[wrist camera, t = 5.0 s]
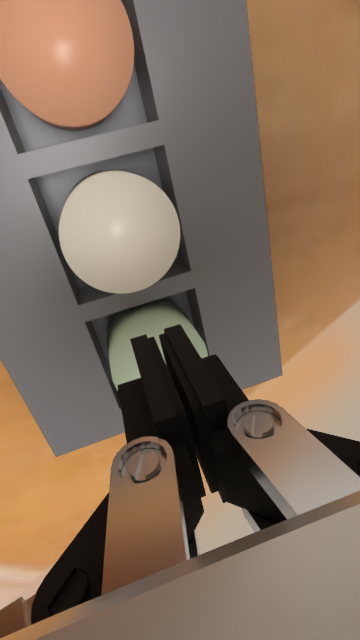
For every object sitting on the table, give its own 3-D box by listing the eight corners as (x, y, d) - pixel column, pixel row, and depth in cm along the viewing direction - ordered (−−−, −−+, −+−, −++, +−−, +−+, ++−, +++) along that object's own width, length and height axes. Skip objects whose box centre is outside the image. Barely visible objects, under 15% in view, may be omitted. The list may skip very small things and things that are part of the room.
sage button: (181, 287, 19) (198, 308, 16) (198, 359, 21) (215, 388, 18) (94, 314, 18) (96, 341, 15) (121, 385, 20) (127, 419, 18)
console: (192, -92, 14) (229, -172, 11) (253, 344, 25) (282, 375, 21) (-168, -34, 13) (-263, -108, 9) (59, 411, 23) (55, 457, 19)
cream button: (150, 157, 16) (165, 157, 13) (174, 257, 18) (190, 275, 15) (45, 184, 15) (37, 190, 12) (83, 284, 17) (84, 307, 15)
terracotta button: (104, -23, 13) (110, -68, 11) (137, 117, 16) (149, 109, 13) (-22, -1, 13) (-49, -42, 10) (31, 142, 15) (21, 139, 12)
